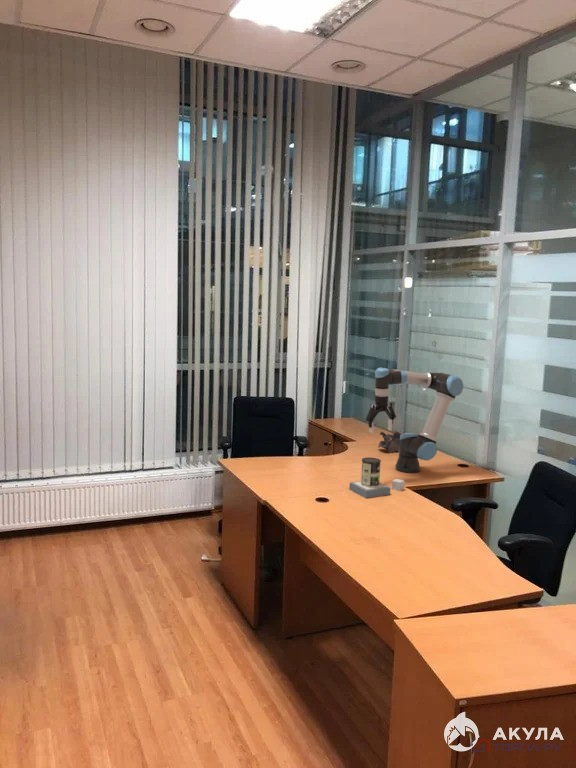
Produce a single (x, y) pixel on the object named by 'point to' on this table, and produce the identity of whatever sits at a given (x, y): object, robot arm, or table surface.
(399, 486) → the block
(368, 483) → the coffee can
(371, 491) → the plinth
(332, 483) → the table surface
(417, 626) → the table surface
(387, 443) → the dark grey lumpy piece
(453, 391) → the robot arm
